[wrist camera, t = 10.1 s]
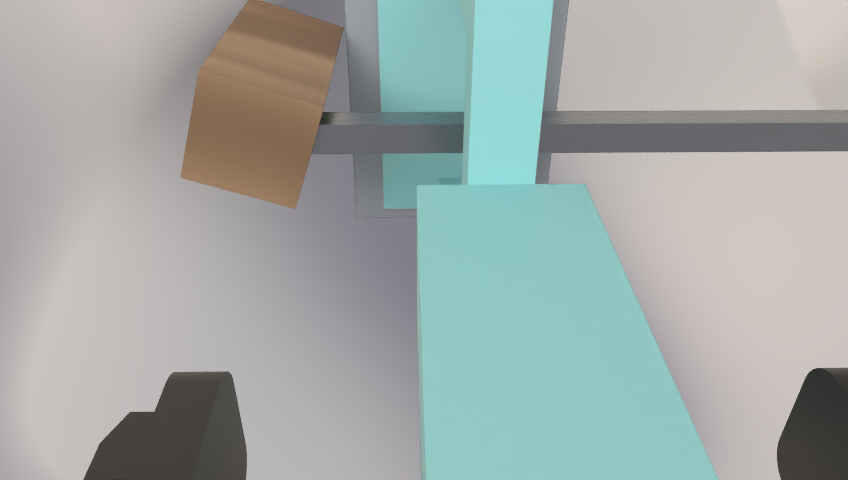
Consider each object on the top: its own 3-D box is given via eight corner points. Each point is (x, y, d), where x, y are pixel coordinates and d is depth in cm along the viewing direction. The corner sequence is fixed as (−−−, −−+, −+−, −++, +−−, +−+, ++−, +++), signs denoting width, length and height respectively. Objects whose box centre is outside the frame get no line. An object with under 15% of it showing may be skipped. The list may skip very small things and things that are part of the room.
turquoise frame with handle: (549, -115, 20) (1022, 222, 5) (522, 190, 26) (699, 806, 10) (375, -115, 20) (281, 229, 5) (384, 192, 26) (355, 816, 10)
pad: (584, -152, 20) (586, -150, 20) (542, 211, 26) (544, 215, 26) (337, -153, 20) (336, -152, 20) (356, 213, 26) (356, 217, 26)
